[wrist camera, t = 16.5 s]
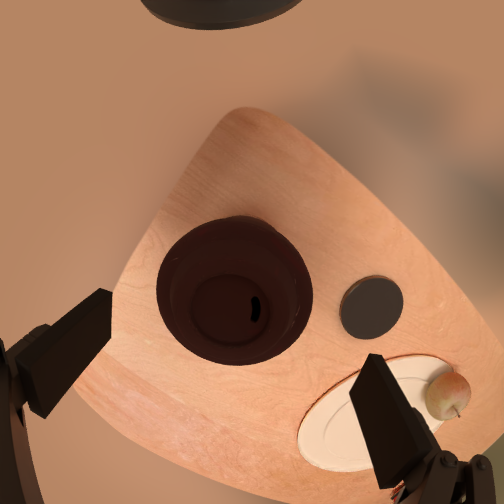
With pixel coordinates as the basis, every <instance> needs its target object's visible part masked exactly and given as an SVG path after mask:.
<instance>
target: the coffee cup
mask: <svg viewBox="0 0 504 504" xmlns="http://www.w3.org/2000/svg"><path fill="white" fill-rule="evenodd" d="M156 295H157V303H158V307H159V311H160V314H161V316H162V318H163V320H164V323H165V325H166V326H167V328H168V329H169V331H170V332H171V333H172V335H173V336H174V337H175V338H176V340H177V341H179V342H180V343H181V344H182V345H183V346H184V347H185V348H186V349H188V350H189V351H191V352H193V353H194V354H196V355H197V356H199V357H201V358H203V359H206V360H209V361H212V362H215V363H219V364H223V365H233V366H243V365H251V364H256V363H260V362H264V361H267V360H269V359H271V358H273V357H275V356H277V355H279V354H281V353H282V352H283V351H285V350H286V349H287V348H289V347H290V346H291V345H292V344H293V343H294V342H295V341H296V340H297V339H298V338H299V336H300V335H301V333H302V332H303V330H304V329H305V327H306V325H307V322H308V320H309V317H310V314H311V310H312V304H313V288H312V283H311V278H310V275H309V272H308V270H307V267H306V265H305V263H304V261H303V259H302V257H301V255H300V254H299V252H298V251H297V249H296V248H295V247H294V246H293V244H292V243H291V242H290V241H289V240H288V239H287V238H285V237H284V236H283V235H282V234H280V233H279V232H277V231H276V230H275V229H274V228H273V227H272V226H271V225H269V224H268V223H267V222H265V221H264V220H262V219H260V218H258V217H255V216H250V215H239V216H232V217H229V218H226V219H218V220H214V221H210V222H207V223H204V224H202V225H200V226H198V227H196V228H194V229H193V230H191V231H190V232H188V233H187V234H186V235H184V236H183V237H182V238H181V239H180V240H178V241H177V242H176V243H175V244H174V245H173V246H172V248H171V249H170V250H169V252H168V253H167V255H166V256H165V258H164V260H163V262H162V264H161V267H160V270H159V273H158V277H157V285H156Z"/></svg>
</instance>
